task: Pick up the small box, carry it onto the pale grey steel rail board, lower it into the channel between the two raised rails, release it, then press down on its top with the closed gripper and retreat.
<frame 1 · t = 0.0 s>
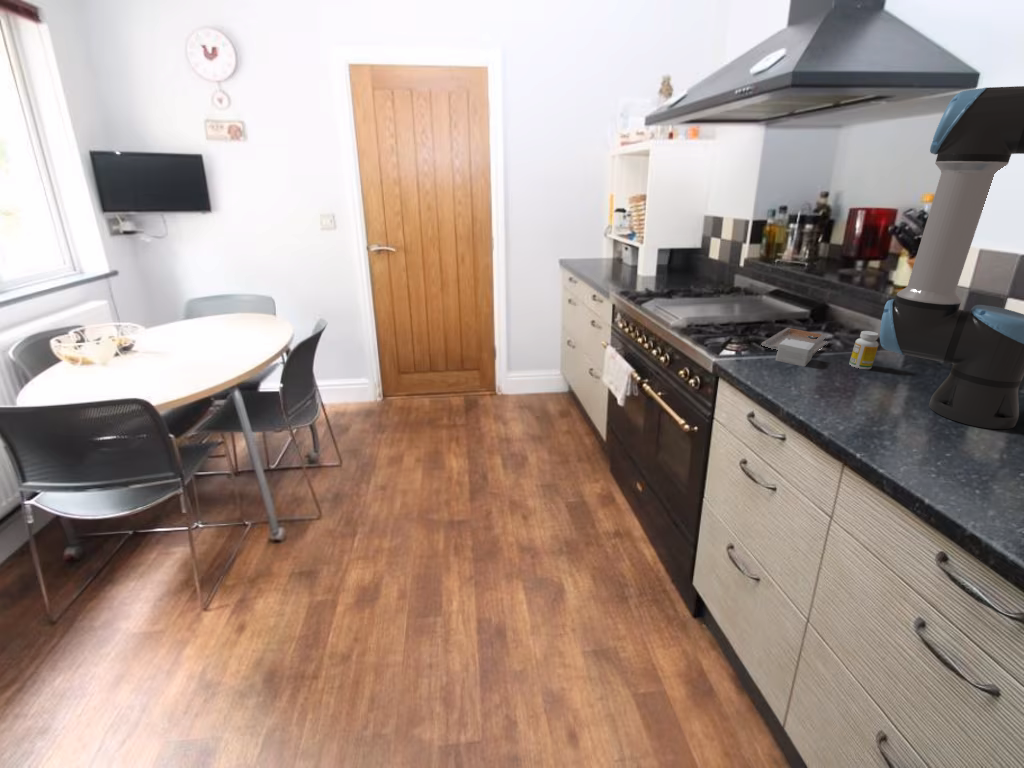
hand: (957, 257, 151), 28 cm above the worktop, tool pointing down, fingers open, 13 cm apart
supplement bottle: (860, 367, 148), on the worktop
small box: (793, 361, 151), on the worktop
rail board: (795, 345, 165), on the worktop
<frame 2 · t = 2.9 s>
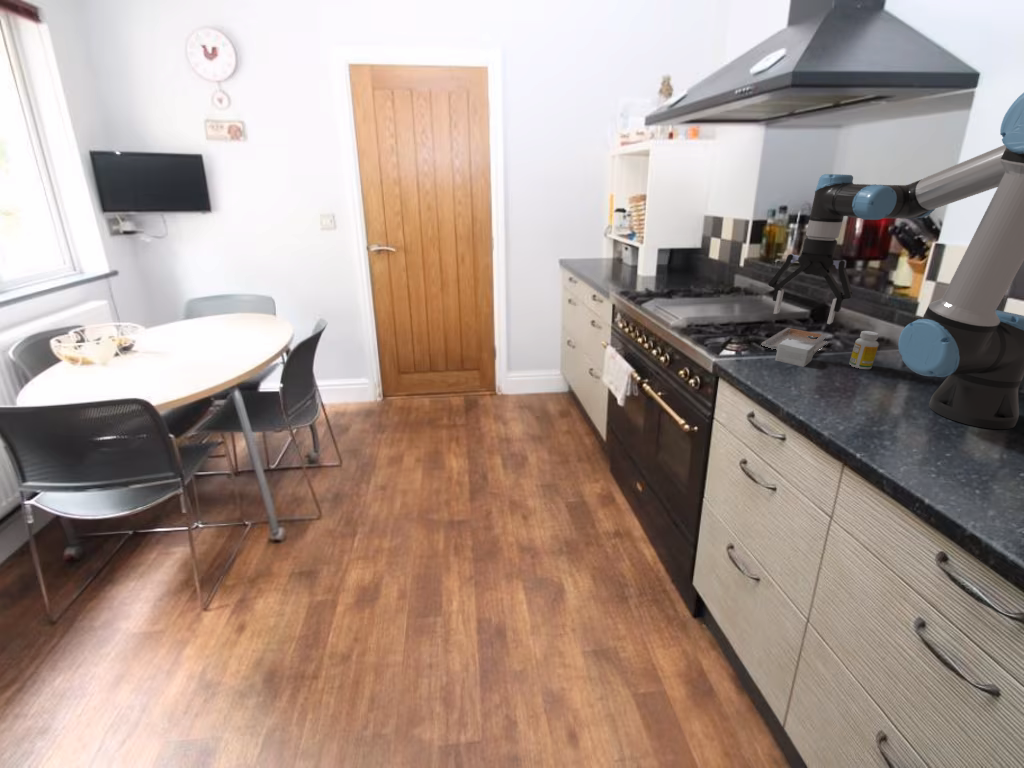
hand: (802, 318, 147), 12 cm above the worktop, tool pointing down, fingers open, 13 cm apart
nothing on the worktop moved.
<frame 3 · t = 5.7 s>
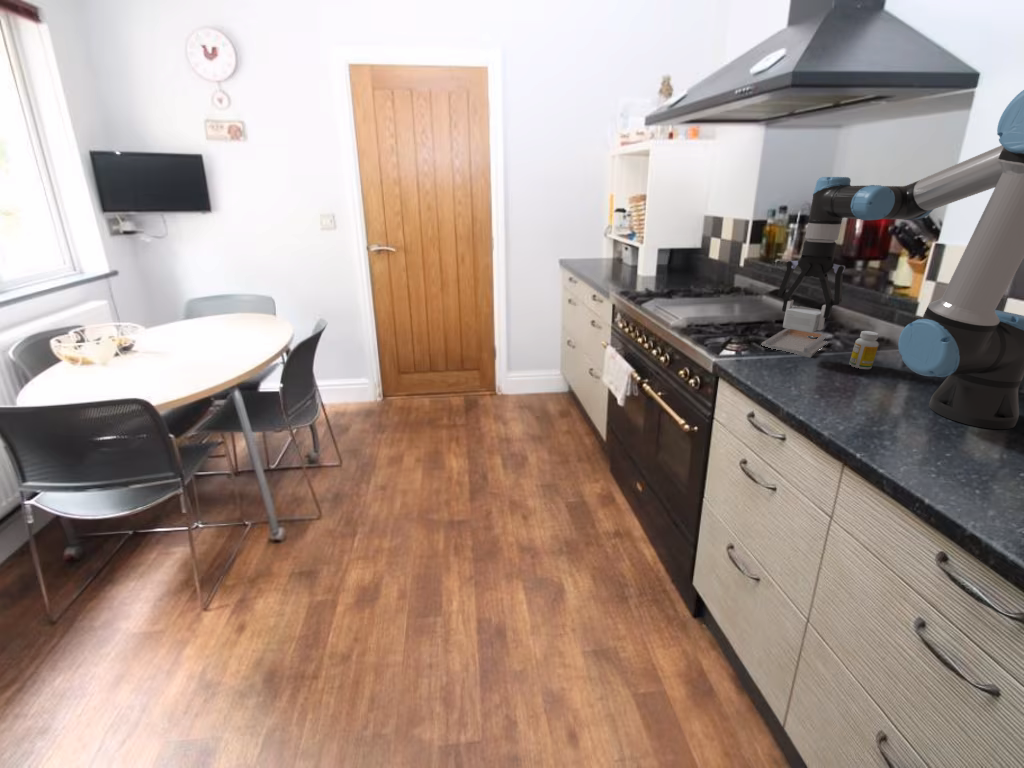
hand: (802, 326, 147), 10 cm above the worktop, tool pointing down, fingers closed on small box, 8 cm apart
small box: (801, 328, 147), point 9 cm above the worktop, touching gripper
everything else where it was.
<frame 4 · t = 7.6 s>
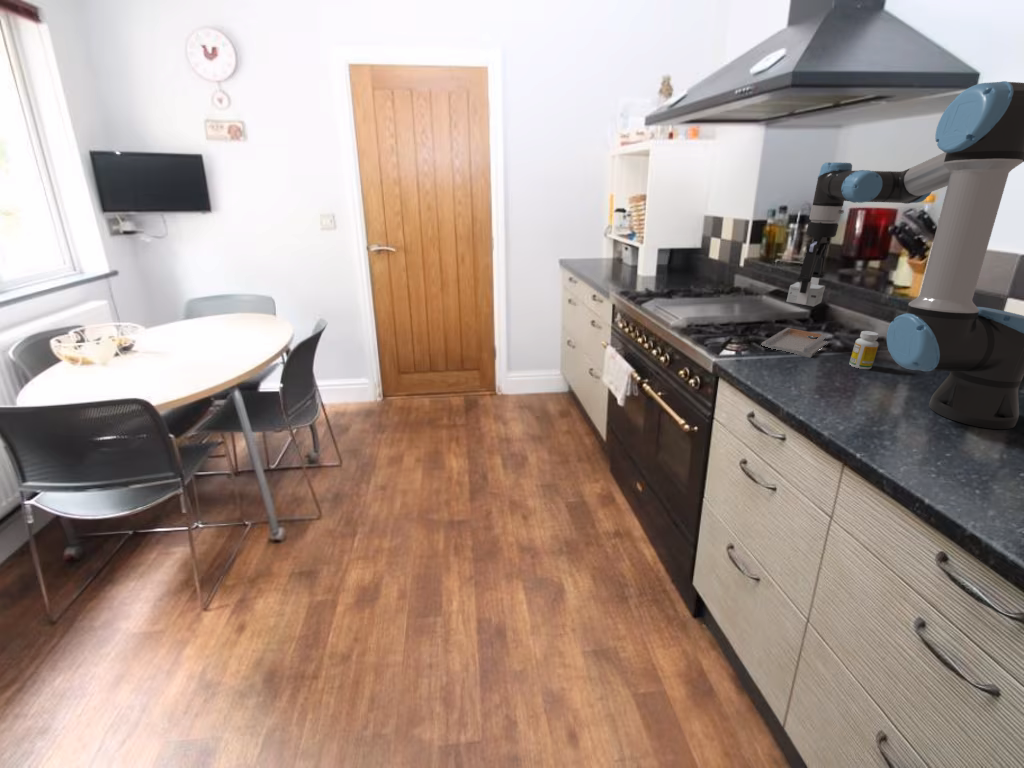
hand: (805, 301, 160), 14 cm above the worktop, tool pointing down, fingers closed on small box, 8 cm apart
small box: (803, 303, 160), point 13 cm above the worktop, touching gripper
everything else where it was.
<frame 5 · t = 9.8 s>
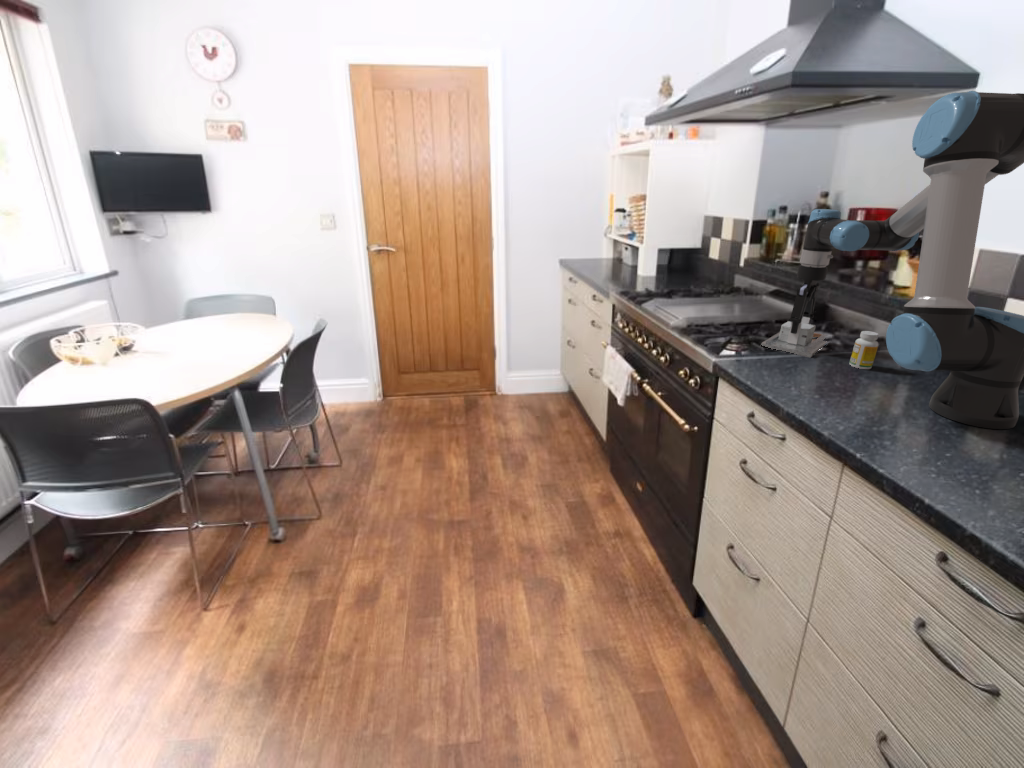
hand: (796, 340, 164), 1 cm above the worktop, tool pointing down, fingers closed on small box, 8 cm apart
small box: (794, 341, 165), point 1 cm above the worktop, touching gripper, rail board
everything else where it was.
when the fingers open (1 cm above the worktop, at t = 10.1 s): small box stays where it is, resting on rail board.
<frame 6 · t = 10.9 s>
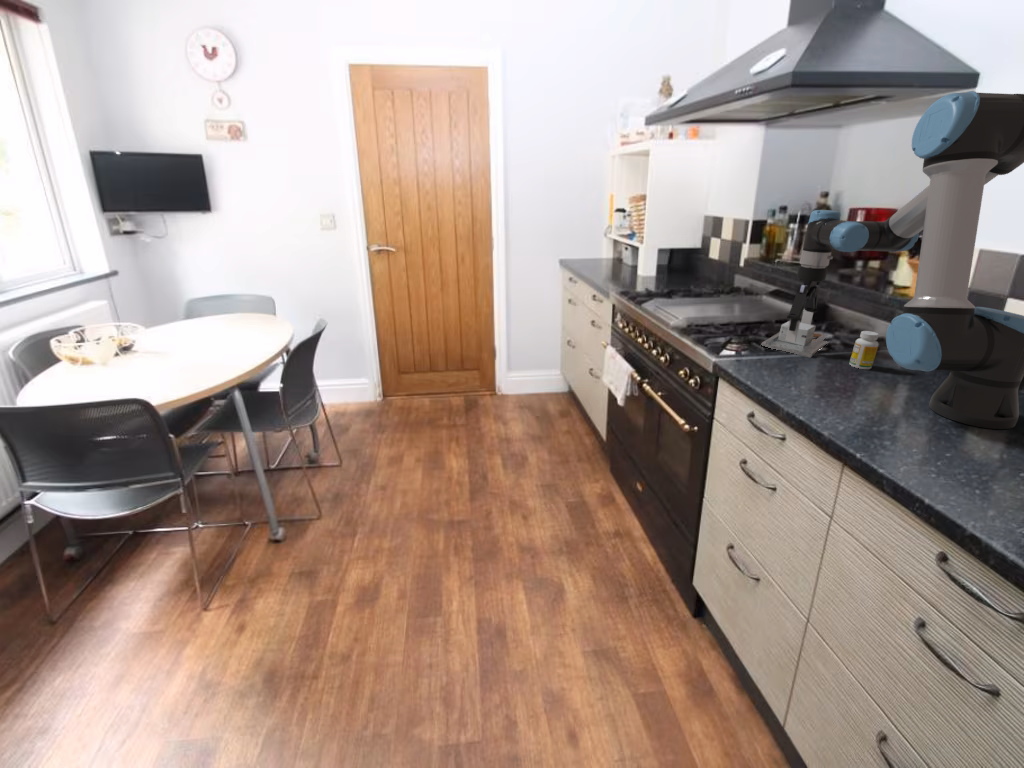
hand: (797, 336, 164), 3 cm above the worktop, tool pointing down, fingers open, 13 cm apart
small box: (794, 341, 165), point 1 cm above the worktop, touching rail board
everything else where it was.
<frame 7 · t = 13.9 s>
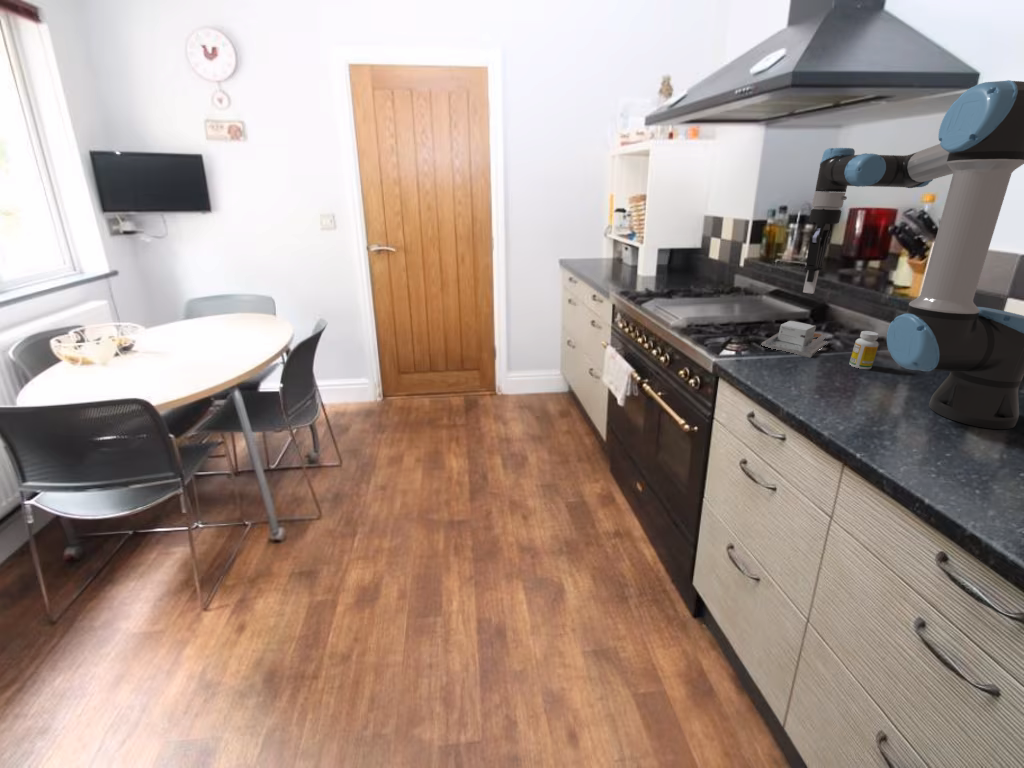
hand: (808, 292, 158), 16 cm above the worktop, tool pointing down, fingers closed
nothing on the worktop moved.
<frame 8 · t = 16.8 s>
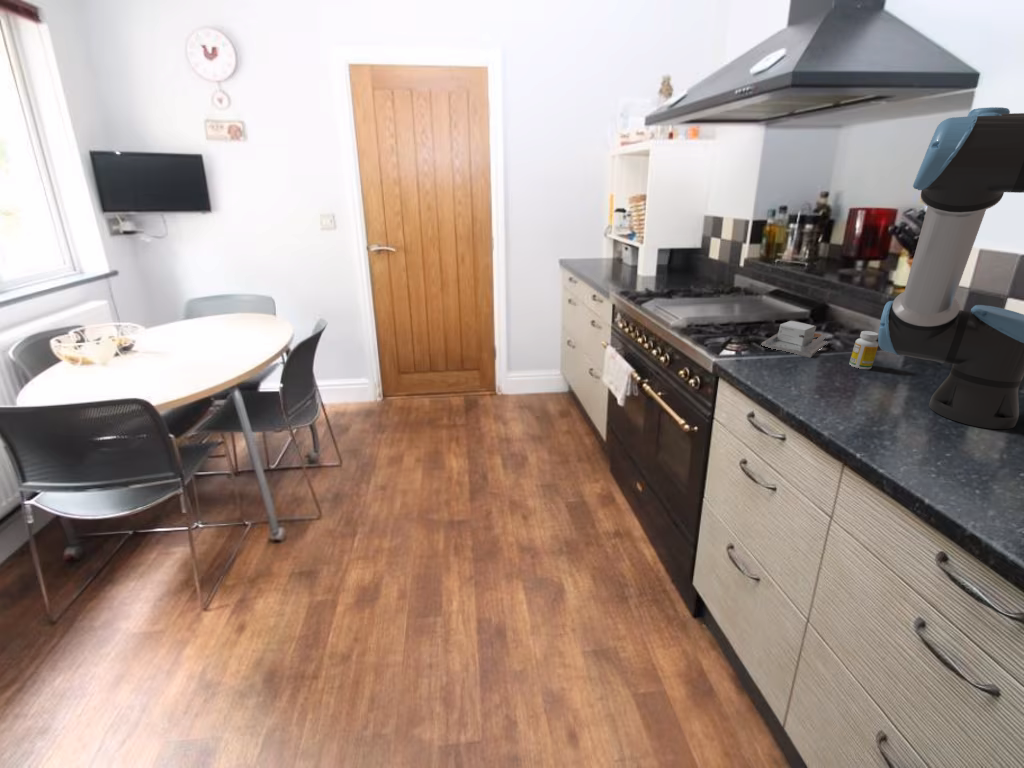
hand: (935, 280, 137), 24 cm above the worktop, tool pointing down, fingers closed
nothing on the worktop moved.
at the end: small box inside the target area on the rail board (0.5 cm from its centre), point 1.0 cm above the rail board's base; small box tilted 0°; the gripper is holding nothing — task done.
